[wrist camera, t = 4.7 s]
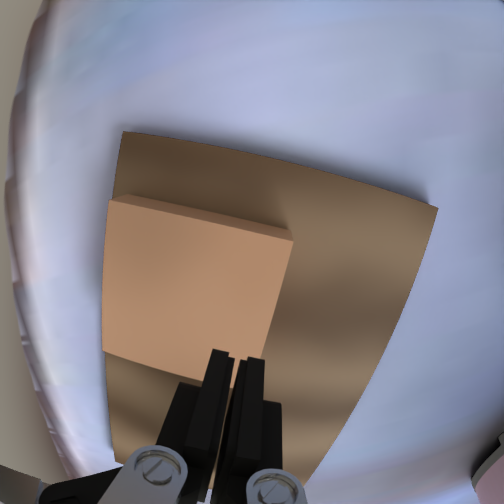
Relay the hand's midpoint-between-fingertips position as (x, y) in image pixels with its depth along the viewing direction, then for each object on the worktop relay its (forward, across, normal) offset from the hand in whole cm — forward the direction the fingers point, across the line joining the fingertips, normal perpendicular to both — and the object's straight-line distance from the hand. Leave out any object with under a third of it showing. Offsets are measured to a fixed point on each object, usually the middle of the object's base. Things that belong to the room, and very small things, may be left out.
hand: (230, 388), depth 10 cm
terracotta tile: (+5, -1, 0) cm, 6 cm away
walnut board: (+8, 0, +6) cm, 10 cm away
